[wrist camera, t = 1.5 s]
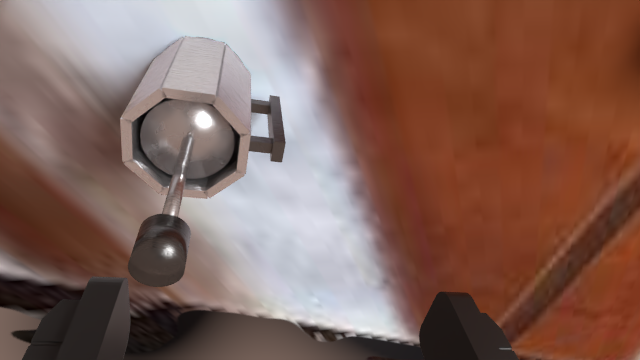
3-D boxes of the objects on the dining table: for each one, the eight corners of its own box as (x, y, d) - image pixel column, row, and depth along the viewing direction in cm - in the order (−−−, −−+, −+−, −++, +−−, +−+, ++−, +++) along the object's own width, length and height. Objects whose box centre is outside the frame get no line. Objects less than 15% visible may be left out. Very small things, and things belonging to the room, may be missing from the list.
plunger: (141, 88, 34) (75, 209, 21) (239, 102, 35) (231, 221, 23) (143, 169, 38) (88, 310, 25) (230, 177, 39) (220, 314, 27)
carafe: (154, 29, 43) (118, 81, 31) (283, 50, 45) (294, 105, 34) (154, 118, 48) (123, 191, 36) (270, 133, 51) (275, 204, 39)
